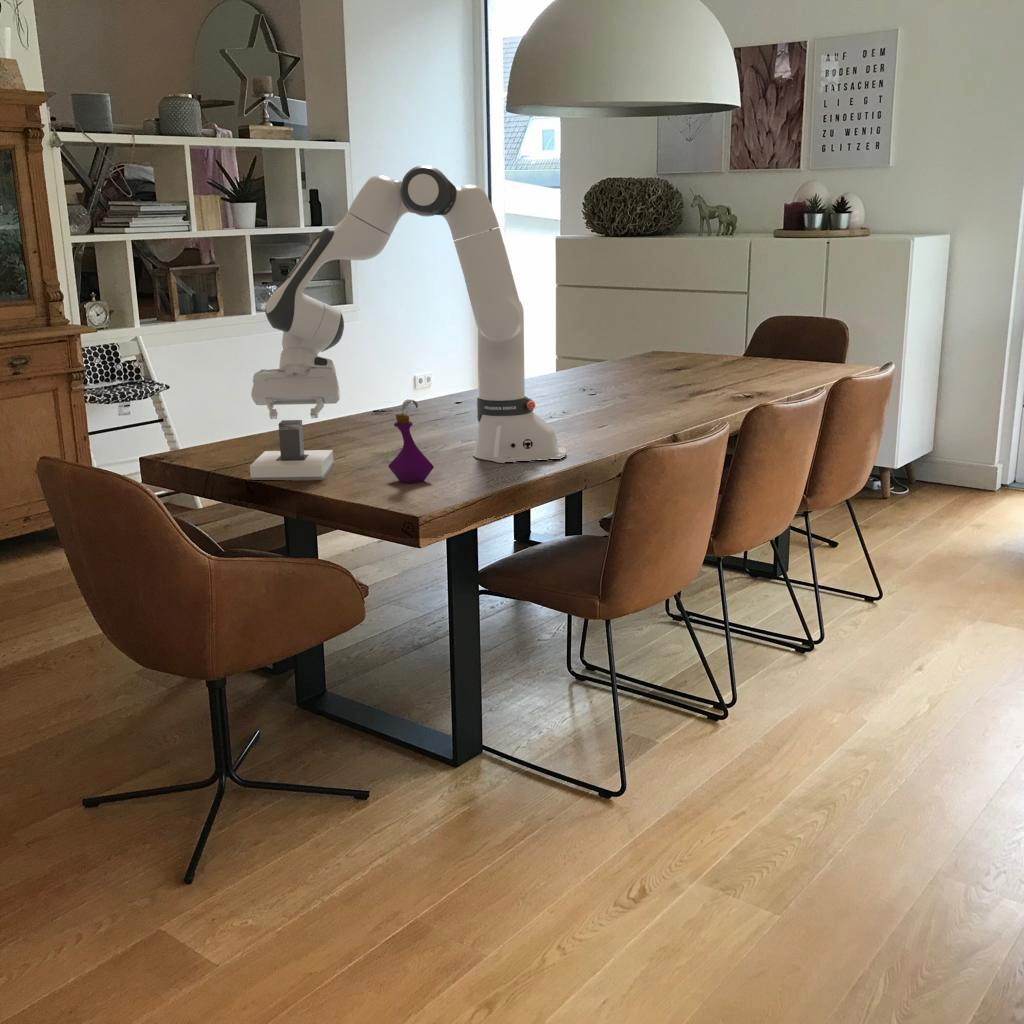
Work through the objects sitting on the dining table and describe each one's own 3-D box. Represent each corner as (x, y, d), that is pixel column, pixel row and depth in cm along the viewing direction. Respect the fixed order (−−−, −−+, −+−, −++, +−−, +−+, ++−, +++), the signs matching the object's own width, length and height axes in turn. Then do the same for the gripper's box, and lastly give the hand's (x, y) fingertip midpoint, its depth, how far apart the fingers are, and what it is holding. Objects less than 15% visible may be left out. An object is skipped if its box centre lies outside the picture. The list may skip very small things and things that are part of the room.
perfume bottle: (405, 486, 247) (402, 404, 242) (388, 480, 253) (384, 399, 248) (434, 481, 251) (432, 400, 247) (417, 475, 257) (414, 396, 253)
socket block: (333, 464, 270) (332, 449, 269) (322, 480, 254) (321, 464, 253) (265, 465, 270) (264, 451, 269) (250, 481, 254) (249, 465, 253)
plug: (305, 466, 264) (301, 419, 261) (301, 471, 260) (298, 423, 257) (285, 467, 264) (282, 420, 261) (281, 471, 260) (278, 423, 257)
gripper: (251, 361, 267) (245, 410, 260) (338, 359, 267) (335, 408, 260) (257, 378, 272) (251, 425, 265) (342, 376, 272) (339, 424, 265)
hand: (293, 417), depth 263 cm, fingers open, 8 cm apart
